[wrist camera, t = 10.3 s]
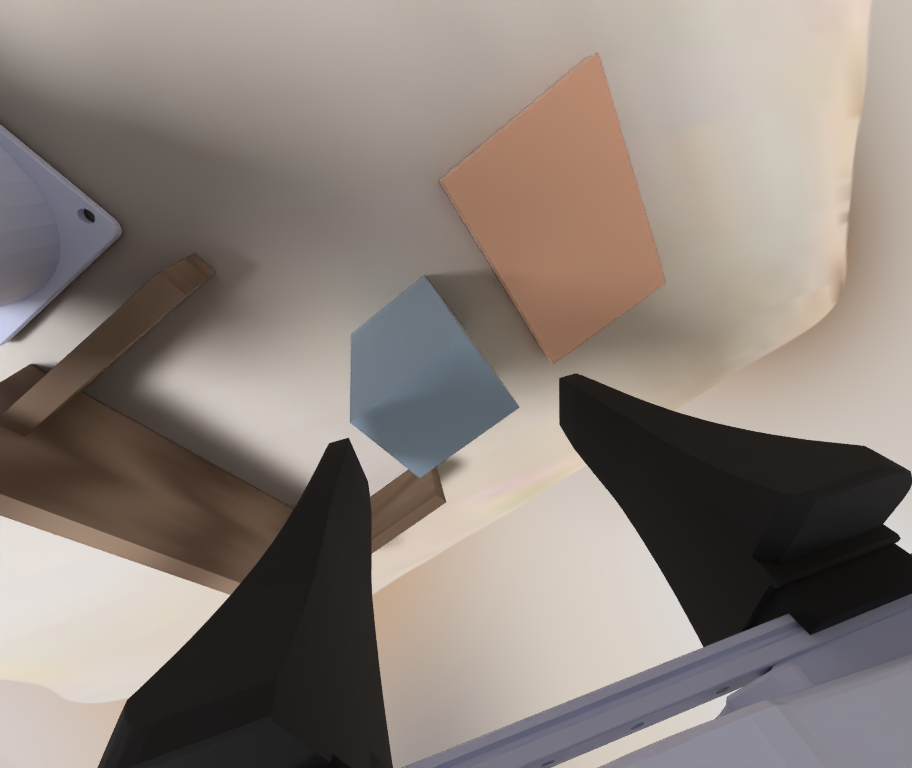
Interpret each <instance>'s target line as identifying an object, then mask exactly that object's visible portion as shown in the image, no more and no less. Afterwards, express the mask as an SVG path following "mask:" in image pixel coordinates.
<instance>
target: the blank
mask: <svg viewBox="0 0 912 768" xmlns="http://www.w3.org/2000/svg"><path fill="white" fill-rule="evenodd" d="M518 408H519V406H518V404H517V403H516V401H515V400H514V399H513V397H512V396H511V394H510V393H509V391H508V390H507V389H506V387H505V386H504V384H503V383H502V381H501V380H500V379H499V377H498V376H497V374H496V373H495V371H494V370H493V369H492V367H491V366H490V364H489V363H488V361H487V360H486V359H485V357H484V356H483V354H482V353H481V351H480V350H479V349H478V347H477V346H476V344H475V343H474V341H473V340H472V339H471V337H470V336H469V334H468V333H467V331H466V330H465V329H464V327H463V326H462V325H461V323H460V322H459V321H458V319H457V318H456V317H455V315H454V314H453V313H452V311H451V310H450V309H449V307H448V306H447V305H446V303H445V302H444V301H443V300H442V298H441V297H440V296H439V294H438V293H437V292H436V290H435V289H434V288H433V286H432V285H431V284H430V282H429V281H428V280H427V278H426V277H425V276H423V277H422V278H421V279H419V280H418V281H417V282H416V283H414V284H413V285H412V286H411V287H409V288H408V289H407V290H406V291H404V292H403V293H402V294H401V295H399V296H398V297H397V298H396V299H394V300H393V301H392V302H391V303H389V304H388V305H387V306H386V307H384V308H383V309H382V310H381V311H379V312H378V313H377V314H376V315H374V316H373V317H372V318H371V319H369V320H368V321H367V322H366V323H364V324H363V325H362V326H361V327H359V328H358V329H357V330H356V331H354V332H353V333H352V334H351V386H350V423H352V424H353V425H354V426H355V427H357V428H358V429H359V430H360V431H362V432H363V433H364V434H365V435H367V436H368V437H369V438H370V439H372V440H373V441H374V442H375V443H377V444H378V445H379V446H380V447H382V448H383V449H384V450H385V451H387V452H388V453H389V454H390V455H392V456H393V457H394V458H395V459H396V460H398V461H399V462H400V463H401V464H403V465H404V466H405V467H406V468H408V469H409V470H410V471H411V472H413V473H414V474H415V475H416V476H418V477H419V478H421V477H422V476H423V475H425V474H426V473H428V472H429V471H430V470H432V469H433V468H435V467H436V466H438V465H439V464H440V463H442V462H443V461H445V460H446V459H447V458H449V457H450V456H452V455H453V454H454V453H456V452H457V451H459V450H460V449H461V448H463V447H464V446H466V445H467V444H469V443H470V442H471V441H473V440H474V439H476V438H477V437H478V436H480V435H481V434H483V433H484V432H485V431H487V430H488V429H490V428H491V427H492V426H494V425H495V424H497V423H498V422H500V421H501V420H502V419H504V418H505V417H507V416H508V415H509V414H511V413H512V412H514V411H515V410H516V409H518Z"/></svg>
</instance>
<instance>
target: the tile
mask: <svg viewBox="0 0 912 768" xmlns="http://www.w3.org/2000/svg"><path fill="white" fill-rule="evenodd" d="M439 183H440V185H441V186H442V188H443V189H444V191H445V193H446V194H447V196H448V198H449V199H450V201H451V202H452V204H453V206H454V207H455V209H456V211H457V212H458V214H459V215H460V217H461V219H462V220H463V222H464V224H465V225H466V227H467V228H468V230H469V232H470V233H471V235H472V237H473V238H474V240H475V241H476V243H477V245H478V246H479V248H480V250H481V251H482V253H483V254H484V256H485V258H486V259H487V261H488V263H489V264H490V266H491V267H492V269H493V271H494V272H495V274H496V276H497V277H498V279H499V281H500V282H501V284H502V285H503V287H504V289H505V290H506V292H507V294H508V295H509V297H510V298H511V300H512V302H513V303H514V305H515V307H516V308H517V310H518V311H519V313H520V315H521V316H522V318H523V320H524V321H525V323H526V324H527V326H528V328H529V329H530V331H531V333H532V334H533V336H534V337H535V339H536V341H537V342H538V344H539V346H540V347H541V349H542V350H543V352H544V354H545V355H546V357H547V358H548V359H549V360H550V361H551V362H552V363H553V364H554V363H555V362H557V361H558V360H559V359H561V358H562V357H563V356H565V355H566V354H568V353H569V352H570V351H572V350H573V349H575V348H576V347H577V346H579V345H580V344H582V343H583V342H584V341H586V340H587V339H589V338H590V337H591V336H593V335H594V334H596V333H597V332H598V331H600V330H601V329H603V328H604V327H605V326H607V325H608V324H610V323H611V322H612V321H614V320H615V319H616V318H618V317H619V316H621V315H622V314H623V313H625V312H626V311H628V310H629V309H630V308H632V307H633V306H635V305H636V304H637V303H639V302H640V301H642V300H643V299H644V298H646V297H647V296H649V295H650V294H651V293H653V292H654V291H656V290H657V289H658V288H660V287H661V286H663V285H664V284H665V283H666V282H665V278H664V275H663V271H662V268H661V265H660V261H659V258H658V254H657V251H656V248H655V244H654V241H653V237H652V234H651V231H650V227H649V224H648V220H647V217H646V214H645V210H644V207H643V203H642V200H641V197H640V193H639V190H638V186H637V183H636V180H635V176H634V173H633V169H632V166H631V163H630V159H629V156H628V152H627V149H626V146H625V142H624V139H623V135H622V132H621V129H620V125H619V122H618V118H617V115H616V112H615V108H614V105H613V101H612V98H611V95H610V91H609V88H608V84H607V81H606V78H605V74H604V71H603V67H602V64H601V61H600V57H599V54H598V52H597V53H595V54H593V55H591V56H589V57H587V58H585V59H584V60H582V61H581V62H580V63H579V64H578V65H576V66H575V67H574V68H573V69H572V70H570V71H569V72H568V73H567V74H566V75H564V76H563V77H562V78H561V79H560V80H558V81H557V82H556V83H555V84H554V85H552V86H551V87H550V88H549V89H548V90H546V91H545V92H544V93H543V94H542V95H540V96H539V97H538V98H537V99H536V100H534V101H533V102H532V103H531V104H530V105H528V106H527V107H526V108H525V109H524V110H522V111H521V112H520V113H519V114H518V115H516V116H515V117H514V118H513V119H512V120H510V121H509V122H508V123H507V124H506V125H505V126H503V127H502V128H501V129H500V130H499V131H497V132H496V133H495V134H494V135H493V136H491V137H490V138H489V139H488V140H487V141H485V142H484V143H483V144H482V145H481V146H479V147H478V148H477V149H476V150H475V151H473V152H472V153H471V154H470V155H469V156H467V157H466V158H465V159H464V160H463V161H461V162H460V163H459V164H458V165H457V166H455V167H454V168H453V169H452V170H451V171H449V172H448V173H447V174H446V175H445V176H443V177H442V178H441V179H440V180H439Z"/></svg>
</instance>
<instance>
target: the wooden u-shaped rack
mask: <svg viewBox="0 0 912 768" xmlns="http://www.w3.org/2000/svg"><path fill="white" fill-rule="evenodd" d="M214 273H215V271H214V270H213V269H212V268H211V267H209V266H208V265H207V264H206V263H205V262H204V261H203V260H201V259H200V258H199V257H198V256H197V255H196V254H193V255H191V256H189V257H187V258H185V259H183V260H181V261H180V262H178V263H176V264H174V265H172V266H170V267H168V268H166V269H165V270H163V271H161V272H159V273H157V274H156V275H155V276H154V277H153V278H152V279H151V280H150V281H149V282H148V283H146V284H145V285H144V286H143V287H142V288H141V289H140V290H139V291H138V292H137V293H135V294H134V295H133V296H132V297H131V298H130V299H129V300H128V301H127V302H125V303H124V304H123V305H122V306H121V307H120V308H119V309H118V310H117V311H116V312H114V313H113V314H112V315H111V316H110V317H109V318H108V319H107V320H106V321H105V322H103V323H102V324H101V325H100V326H99V327H98V328H97V329H96V330H95V331H94V332H92V333H91V334H90V335H89V336H88V337H87V338H86V339H85V340H84V341H83V342H81V343H80V344H79V345H78V346H77V347H76V348H75V349H74V350H73V351H72V352H70V353H69V354H68V355H67V356H66V357H65V358H64V359H63V360H62V361H60V362H59V363H58V364H57V365H56V366H55V367H54V368H53V369H52V370H51V371H49V372H48V373H46V372H44V371H42V370H40V369H38V368H37V367H35V366H33V365H31V364H30V365H28V366H27V367H25V368H23V369H22V370H20V371H18V372H17V373H15V374H13V375H12V376H10V377H8V378H7V379H5V380H3V381H2V382H0V515H1V516H4V517H7V518H9V519H12V520H15V521H18V522H21V523H24V524H27V525H30V526H33V527H36V528H38V529H41V530H44V531H47V532H50V533H53V534H56V535H59V536H62V537H64V538H67V539H70V540H73V541H76V542H79V543H82V544H85V545H88V546H91V547H93V548H96V549H99V550H102V551H105V552H108V553H111V554H114V555H117V556H120V557H122V558H125V559H128V560H131V561H134V562H137V563H140V564H143V565H146V566H149V567H151V568H154V569H157V570H160V571H163V572H166V573H169V574H172V575H175V576H177V577H180V578H183V579H186V580H189V581H192V582H195V583H198V584H201V585H204V586H206V587H209V588H212V589H215V590H218V591H221V592H224V593H227V594H230V595H231V594H232V593H233V592H234V590H235V589H236V588H237V587H238V586H239V584H240V583H241V582H242V581H243V580H244V578H245V577H246V576H247V575H248V573H249V572H250V571H251V570H252V569H253V567H254V566H255V565H256V564H257V562H258V561H259V560H260V559H261V557H262V556H263V554H264V553H265V552H266V550H267V549H268V548H269V546H270V545H271V544H272V542H273V541H274V539H275V538H276V536H277V535H278V533H279V532H280V530H281V529H282V527H283V526H284V524H285V523H286V521H287V519H288V518H289V516H290V514H291V513H292V511H293V510H294V509H293V508H291V507H289V506H287V505H285V504H284V503H282V502H280V501H278V500H276V499H275V498H273V497H271V496H269V495H267V494H265V493H264V492H262V491H260V490H258V489H256V488H255V487H253V486H251V485H249V484H247V483H245V482H244V481H242V480H240V479H238V478H236V477H235V476H233V475H231V474H229V473H227V472H226V471H224V470H222V469H220V468H218V467H216V466H215V465H213V464H211V463H209V462H207V461H206V460H204V459H202V458H200V457H198V456H196V455H195V454H193V453H191V452H189V451H187V450H186V449H184V448H182V447H180V446H178V445H176V444H175V443H173V442H171V441H169V440H167V439H166V438H164V437H162V436H160V435H158V434H157V433H155V432H153V431H151V430H149V429H147V428H146V427H144V426H142V425H140V424H138V423H137V422H135V421H133V420H131V419H129V418H127V417H126V416H124V415H122V414H120V413H118V412H117V411H115V410H113V409H111V408H109V407H107V406H106V405H104V404H102V403H100V402H98V401H97V400H95V399H93V398H91V397H89V396H88V395H86V394H84V393H82V392H80V391H81V390H82V389H84V388H85V387H86V386H87V385H88V384H89V383H90V382H92V381H93V380H94V379H95V378H96V377H97V376H98V375H99V374H101V373H102V372H103V371H104V370H105V369H106V368H107V367H109V366H110V365H111V364H112V363H113V362H114V361H115V360H116V359H118V358H119V357H120V356H121V355H122V354H123V353H124V352H126V351H127V350H128V349H129V348H130V347H131V346H132V345H133V344H135V343H136V342H137V341H138V340H139V339H140V338H141V337H143V336H144V335H145V334H146V333H147V332H148V331H149V330H150V329H152V328H153V327H154V326H155V325H156V324H157V323H158V322H160V321H161V320H162V319H163V318H164V317H165V316H166V315H167V314H169V313H170V312H171V311H172V310H173V309H174V308H175V307H177V306H178V305H179V304H180V303H181V302H182V301H183V300H184V299H186V298H187V297H188V296H189V295H190V294H191V293H192V292H194V291H195V290H196V289H197V288H198V287H199V286H200V285H201V284H203V283H204V282H205V281H206V280H207V279H208V278H209V277H211V276H212V275H213V274H214ZM370 502H371V510H372V549H371V554H372V553H373V552H375V551H376V550H378V549H379V548H381V547H382V546H383V545H385V544H386V543H388V542H389V541H391V540H392V539H394V538H395V537H397V536H398V535H399V534H401V533H402V532H404V531H405V530H407V529H408V528H410V527H411V526H412V525H414V524H415V523H417V522H418V521H420V520H421V519H423V518H424V517H426V516H427V515H428V514H430V513H431V512H433V511H434V510H436V509H437V508H439V507H440V506H441V505H443V504H444V503H446V500H445V496H444V493H443V489H442V485H441V482H440V478H439V475H438V471H437V468H436V467H435V468H433V469H432V470H430V471H429V472H428V473H426V474H425V475H423V476H422V477H421V478H419V477H418V476H416V475H415V474H414V473H413V472H411V471H410V470H408V471H406V472H405V473H404V474H402V475H401V476H399V477H398V478H397V479H395V480H394V481H392V482H391V483H390V484H388V485H387V486H385V487H384V488H383V489H381V490H380V491H378V492H377V493H376V494H374V495H373V496H371V497H370Z"/></svg>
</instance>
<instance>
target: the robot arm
mask: <svg viewBox="0 0 912 768" xmlns="http://www.w3.org/2000/svg"><path fill="white" fill-rule="evenodd" d="M85 209H87V210H89V211H91V212H92V213H93V215H94V216H95V221H94V222H92V221H90V220H88V219H87V218H86V217H85V215H84V210H85ZM120 235H121V227H120V225H119V223H118V222H117V221H116V220H115V218H113V217H112V216H111V215H110V214H109V213H107V212H106V211H105V210H104V209H102V208H101V207H100V206H99V205H98V204H96V203H95V202H94V201H93V200H92V199H90V198H89V197H88V196H87V195H85V194H84V193H83V192H82V191H81V190H79V189H78V188H77V187H76V186H75V185H73V184H72V183H71V182H70V181H68V180H67V179H66V178H65V177H64V176H62V175H61V174H60V173H59V172H58V171H56V170H55V169H54V168H53V167H51V166H50V165H49V164H48V163H47V162H45V161H44V160H43V159H42V158H41V157H39V156H38V155H37V154H36V153H34V152H33V151H32V150H31V149H30V148H28V147H27V146H26V145H25V144H24V143H22V142H21V141H20V140H19V139H17V138H16V137H15V136H14V135H13V134H11V133H10V132H9V131H8V130H7V129H5V128H4V127H3V126H2V125H0V346H1V345H3V344H5V343H7V342H9V341H10V340H11V339H12V338H13V337H14V336H15V335H16V334H17V333H18V332H19V331H20V330H22V329H23V328H24V327H25V326H26V325H27V324H28V323H29V322H30V321H31V320H32V319H33V318H34V317H35V316H36V315H37V314H38V313H40V312H41V311H42V310H43V309H44V308H45V307H46V306H47V305H48V304H49V303H50V302H51V301H52V300H53V299H54V298H55V297H56V296H58V295H59V294H60V293H61V292H62V291H63V290H64V289H65V288H66V287H67V286H68V285H69V284H70V283H71V282H72V281H73V280H74V279H76V278H77V277H78V276H79V275H80V274H81V273H82V272H83V271H84V270H85V269H86V268H87V267H88V266H89V265H90V264H91V263H92V262H93V261H95V260H96V259H97V258H98V257H99V256H100V255H101V254H102V253H103V252H104V251H105V250H106V249H107V248H108V247H109V246H110V245H111V244H113V243H114V242H115V241H116V240H117V239H118V238H119V237H120ZM559 418H560V426H561V428H562V429H563V431H564V433H565V435H566V436H567V438H568V440H569V441H570V443H571V444H572V446H573V448H574V449H575V450H576V452H577V453H578V454H579V455H580V457H581V458H582V459H583V460H584V462H585V463H586V464H587V465H588V467H589V468H590V469H591V470H592V471H593V473H594V474H595V475H596V476H597V478H598V479H599V480H600V481H601V482H602V484H603V485H604V486H605V488H606V489H607V490H608V491H609V492H610V494H611V495H612V496H613V497H614V498H615V500H616V501H617V503H618V504H619V505H620V507H621V508H622V509H623V511H624V512H625V514H626V515H627V517H628V519H629V520H630V522H631V523H632V525H633V526H634V527H635V529H636V531H637V532H638V534H639V535H640V537H641V539H642V540H643V542H644V543H645V545H646V547H647V548H648V550H649V551H650V553H651V555H652V556H653V558H654V560H655V561H656V563H657V564H658V566H659V568H660V569H661V571H662V573H663V574H664V576H665V578H666V580H667V581H668V583H669V585H670V586H671V588H672V590H673V592H674V593H675V595H676V597H677V599H678V601H679V602H680V604H681V606H682V608H683V610H684V612H685V613H686V615H687V617H688V619H689V621H690V623H691V624H692V626H693V628H694V630H695V632H696V634H697V635H698V637H699V639H700V641H701V643H702V645H703V648H701V649H698V650H696V651H693V652H691V653H688V654H686V655H683V656H681V657H678V658H676V659H673V660H671V661H668V662H666V663H663V664H661V665H658V666H656V667H653V668H651V669H648V670H646V671H643V672H640V673H638V674H636V675H633V676H631V677H628V678H625V679H623V680H621V681H618V682H615V683H613V684H610V685H608V686H605V687H603V688H600V689H598V690H595V691H593V692H590V693H588V694H585V695H583V696H580V697H578V698H575V699H573V700H570V701H568V702H565V703H563V704H560V705H558V706H555V707H553V708H550V709H548V710H545V711H543V712H540V713H538V714H535V715H533V716H530V717H528V718H525V719H523V720H520V721H518V722H516V723H513V724H510V725H508V726H505V727H503V728H500V729H498V730H495V731H493V732H490V733H488V734H485V735H483V736H480V737H478V738H475V739H473V740H470V741H467V742H465V743H462V744H460V745H457V746H455V747H452V748H450V749H447V750H445V751H442V752H440V753H437V754H435V755H432V756H430V757H428V758H425V759H422V760H420V761H418V762H415V763H413V764H410V765H407V766H405V767H402V768H551V767H553V766H556V765H558V764H560V763H563V762H565V761H568V760H570V759H572V758H575V757H577V756H579V755H582V754H584V753H587V752H589V751H591V750H593V749H596V748H599V747H601V746H603V745H606V744H608V743H610V742H613V741H615V740H618V739H620V738H622V737H625V736H627V735H630V734H632V733H634V732H637V731H639V730H641V729H644V728H646V727H648V726H651V725H653V724H656V723H658V722H660V721H663V720H665V719H668V718H670V717H672V716H675V715H677V714H679V713H682V712H684V711H686V710H689V709H691V708H694V707H696V706H699V705H701V704H703V703H706V702H708V701H711V700H713V699H715V698H717V697H720V696H722V695H725V694H727V693H729V692H732V691H734V690H737V689H739V688H741V689H739V690H738V691H736V692H734V693H732V694H731V695H729V696H728V697H727V700H726V706H725V707H724V709H723V710H722V712H721V713H720V715H719V716H718V717H716V718H715V719H714V720H711V721H709V722H706V723H703V724H700V725H698V726H695V727H693V728H690V729H687V730H685V731H682V732H680V733H677V734H675V735H672V736H670V737H667V738H665V739H662V740H660V741H657V742H655V743H653V744H650V745H648V746H646V747H643V748H641V749H639V750H636V751H634V752H632V753H629V754H627V755H625V756H622V757H620V758H618V759H616V760H614V761H611V762H609V763H607V764H605V765H603V766H601V767H599V768H912V553H911V554H909V553H908V552H906V551H905V550H903V549H902V548H900V547H899V546H897V545H896V544H895V543H896V542H898V541H899V540H900V537H899V535H898V534H897V533H895V532H894V531H892V530H891V529H889V528H888V527H886V526H885V525H883V523H884V522H885V521H886V520H887V518H888V517H889V516H890V515H891V513H892V512H893V511H894V510H895V508H896V507H897V506H898V505H899V504H900V502H901V501H902V500H903V499H904V497H905V496H906V494H907V493H908V491H909V490H910V487H911V485H912V475H911V471H909V470H907V469H906V468H904V467H902V466H900V465H898V464H897V463H895V462H893V461H891V460H889V459H888V458H886V457H884V456H882V455H880V454H879V453H877V452H875V451H873V450H871V449H869V448H867V447H865V446H860V445H850V444H841V443H832V442H822V441H813V440H805V439H798V438H791V437H785V436H778V435H771V434H766V433H761V432H755V431H750V430H745V429H740V428H736V427H731V426H726V425H722V424H718V423H714V422H709V421H705V420H702V419H699V418H695V417H691V416H688V415H684V414H681V413H678V412H675V411H672V410H669V409H666V408H663V407H660V406H657V405H654V404H651V403H649V402H646V401H643V400H641V399H638V398H635V397H633V396H630V395H628V394H625V393H623V392H621V391H618V390H616V389H613V388H611V387H609V386H606V385H604V384H601V383H599V382H597V381H594V380H592V379H590V378H587V377H584V376H582V375H579V374H572V375H569V376H565V377H561V378H559ZM371 549H372V510H371V502H370V493H369V486H368V481H367V478H366V476H365V474H364V472H363V469H362V467H361V465H360V462H359V460H358V458H357V456H356V453H355V451H354V449H353V447H352V444H351V442H350V440H349V438H346V439H343V440H339V441H336V442H332V443H329V445H328V446H327V448H326V450H325V452H324V454H323V456H322V458H321V460H320V462H319V464H318V466H317V468H316V470H315V472H314V474H313V476H312V478H311V480H310V481H309V483H308V485H307V487H306V489H305V491H304V492H303V494H302V496H301V498H300V500H299V501H298V503H297V505H296V506H295V508H294V510H293V511H292V513H291V514H290V516H289V518H288V519H287V521H286V523H285V524H284V526H283V527H282V529H281V530H280V532H279V533H278V535H277V536H276V538H275V539H274V541H273V542H272V544H271V545H270V546H269V548H268V549H267V550H266V552H265V553H264V554H263V556H262V557H261V559H260V560H259V561H258V562H257V564H256V565H255V566H254V567H253V569H252V570H251V571H250V572H249V573H248V575H247V576H246V577H245V578H244V580H243V581H242V582H241V583H240V584H239V586H238V587H237V588H236V589H235V590H234V592H233V593H232V594H231V595H230V596H229V598H228V599H227V600H226V601H225V602H224V603H223V604H222V606H221V607H220V608H219V609H218V610H217V611H216V612H215V613H214V614H213V615H212V617H211V618H210V619H209V620H208V621H207V622H206V623H205V624H204V625H203V626H202V627H201V628H200V629H199V630H198V631H197V632H196V634H195V635H194V636H193V637H192V638H191V639H190V640H189V641H188V642H187V643H186V644H185V645H184V646H183V647H182V648H181V649H180V650H179V651H178V652H177V653H176V654H175V655H174V656H173V657H172V658H171V659H170V660H169V661H168V662H167V663H166V664H165V665H163V666H162V667H161V668H160V669H159V670H158V671H157V672H156V673H155V674H154V675H153V676H152V677H151V678H150V679H149V680H148V681H147V682H146V683H145V684H144V685H143V686H142V687H141V688H140V689H139V690H138V691H136V692H135V693H134V694H133V695H132V696H131V697H130V698H129V699H128V700H127V702H126V704H125V706H124V708H123V710H122V713H121V715H120V717H119V719H118V721H117V724H116V726H115V728H114V731H113V733H112V735H111V738H110V740H109V742H108V745H107V747H106V749H105V752H104V754H103V756H102V759H101V761H100V764H99V766H98V768H393V765H392V759H391V752H390V745H389V737H388V730H387V723H386V716H385V709H384V701H383V694H382V685H381V677H380V669H379V660H378V650H377V642H376V632H375V622H374V611H373V601H372V583H371Z"/></svg>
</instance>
